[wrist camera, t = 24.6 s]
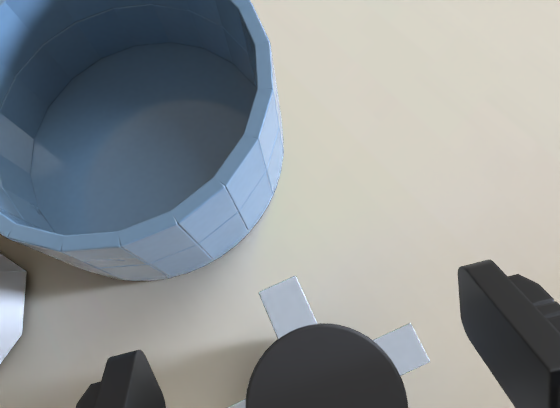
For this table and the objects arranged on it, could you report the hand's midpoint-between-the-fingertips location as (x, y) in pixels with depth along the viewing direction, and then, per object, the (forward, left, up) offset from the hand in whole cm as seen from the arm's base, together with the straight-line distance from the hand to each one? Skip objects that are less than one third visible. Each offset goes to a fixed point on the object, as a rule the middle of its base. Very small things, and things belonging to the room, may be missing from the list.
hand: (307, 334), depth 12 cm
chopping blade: (0, -2, -10) cm, 10 cm away
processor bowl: (-7, +10, -10) cm, 16 cm away
